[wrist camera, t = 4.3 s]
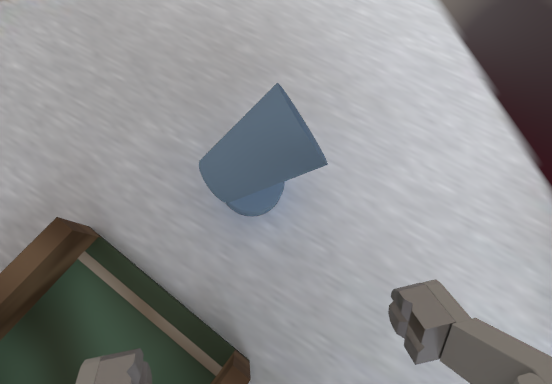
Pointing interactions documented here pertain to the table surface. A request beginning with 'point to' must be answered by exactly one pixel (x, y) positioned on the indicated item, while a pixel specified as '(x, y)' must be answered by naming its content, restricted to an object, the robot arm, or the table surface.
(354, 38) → the table surface
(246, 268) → the table surface
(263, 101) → the spotlight
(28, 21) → the table surface
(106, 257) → the wooden display tray
